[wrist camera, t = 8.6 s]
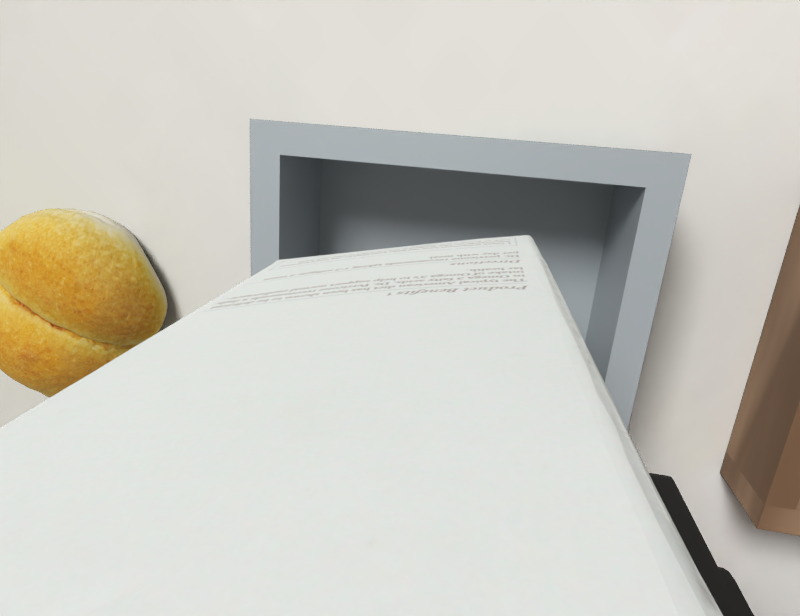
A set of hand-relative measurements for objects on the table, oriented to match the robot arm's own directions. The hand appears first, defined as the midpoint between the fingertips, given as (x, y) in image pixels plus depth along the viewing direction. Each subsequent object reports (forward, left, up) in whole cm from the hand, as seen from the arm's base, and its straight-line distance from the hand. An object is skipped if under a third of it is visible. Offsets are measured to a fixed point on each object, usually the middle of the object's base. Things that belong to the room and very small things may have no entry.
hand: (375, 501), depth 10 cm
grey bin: (0, 0, -14) cm, 14 cm away
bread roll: (+17, +2, -14) cm, 22 cm away
